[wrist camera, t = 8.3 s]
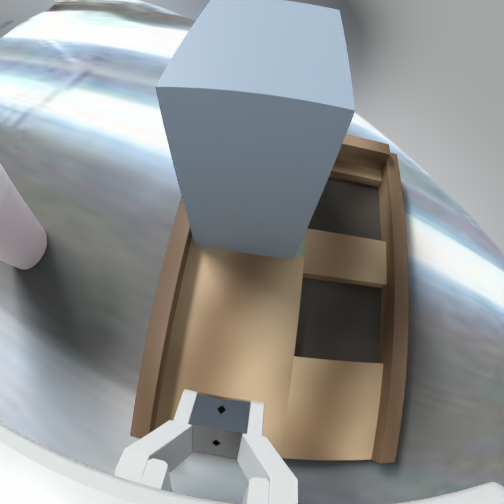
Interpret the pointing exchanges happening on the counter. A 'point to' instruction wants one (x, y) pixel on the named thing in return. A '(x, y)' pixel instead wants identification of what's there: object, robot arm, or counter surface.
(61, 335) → the counter surface
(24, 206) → the smoothie
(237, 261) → the lane board
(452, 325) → the counter surface
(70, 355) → the counter surface
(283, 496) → the robot arm
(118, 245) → the counter surface
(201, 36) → the blue block
